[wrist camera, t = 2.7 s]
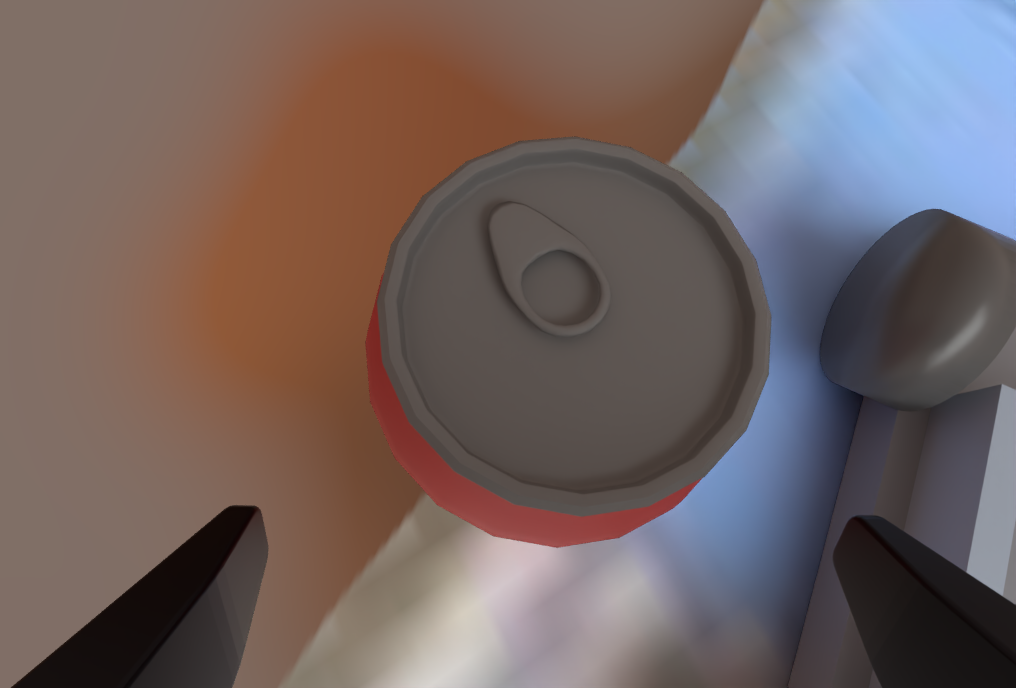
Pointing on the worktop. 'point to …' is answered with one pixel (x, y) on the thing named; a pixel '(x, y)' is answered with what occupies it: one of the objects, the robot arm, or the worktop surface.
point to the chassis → (922, 417)
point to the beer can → (566, 340)
